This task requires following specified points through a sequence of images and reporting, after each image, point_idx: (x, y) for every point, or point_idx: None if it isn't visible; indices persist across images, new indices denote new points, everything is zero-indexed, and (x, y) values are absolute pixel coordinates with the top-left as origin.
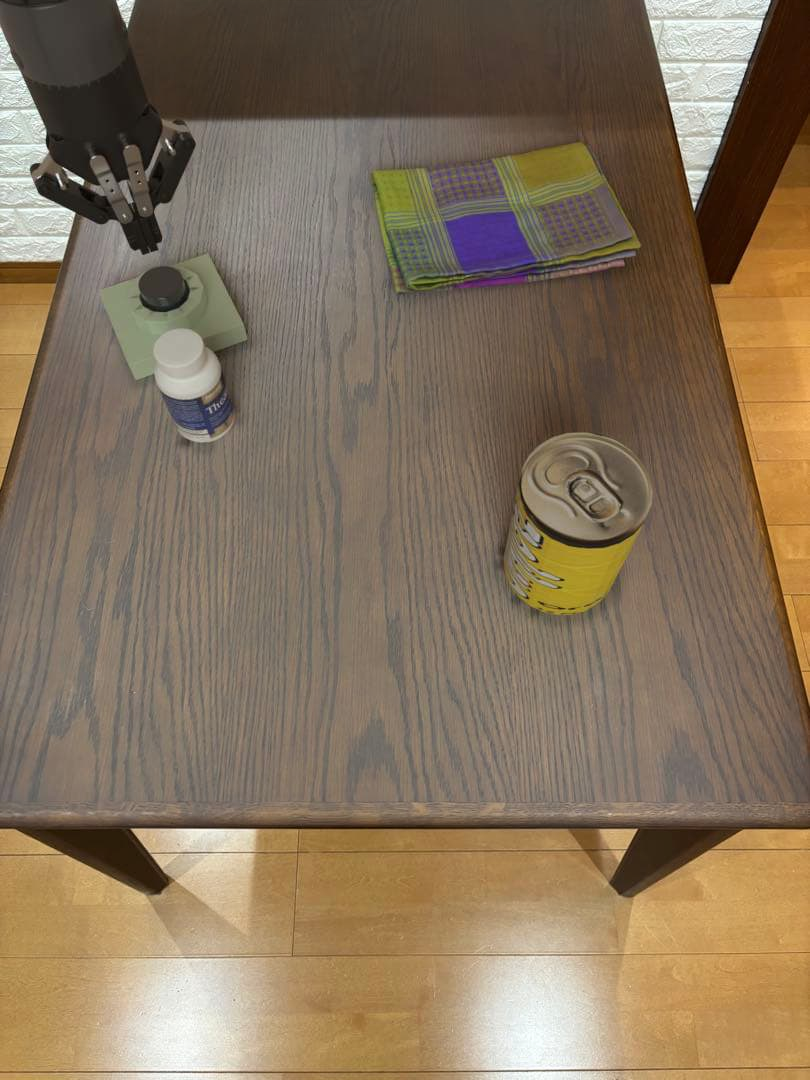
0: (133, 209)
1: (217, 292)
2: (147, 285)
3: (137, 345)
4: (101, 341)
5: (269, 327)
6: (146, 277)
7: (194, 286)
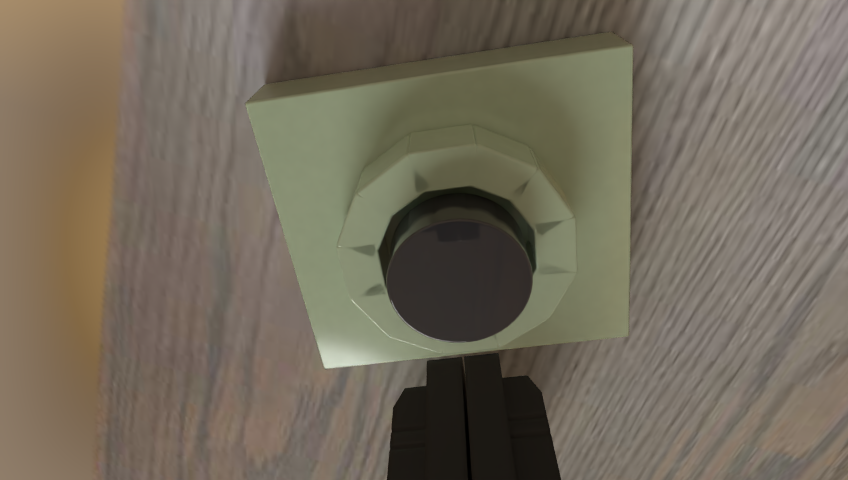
0: (471, 467)
1: (602, 221)
2: (415, 287)
3: (350, 325)
4: (252, 202)
5: (676, 280)
6: (417, 254)
7: (552, 262)
